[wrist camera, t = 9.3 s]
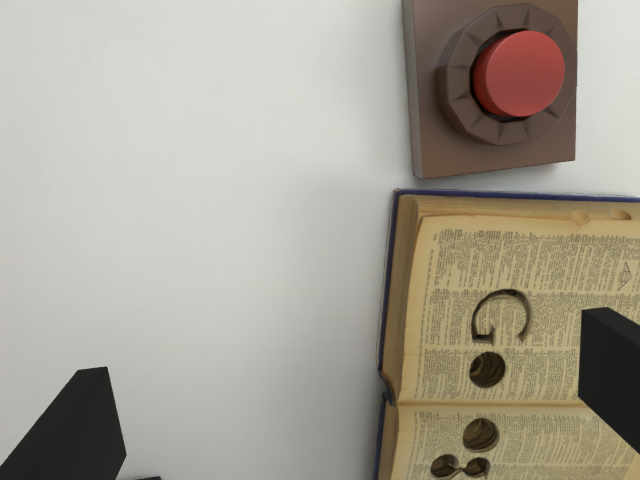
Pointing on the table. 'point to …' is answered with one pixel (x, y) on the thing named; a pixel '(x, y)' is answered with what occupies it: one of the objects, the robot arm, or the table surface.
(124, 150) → the table surface
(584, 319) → the robot arm
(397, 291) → the book
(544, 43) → the stop button
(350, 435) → the table surface
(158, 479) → the lever bracket
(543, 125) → the button block
